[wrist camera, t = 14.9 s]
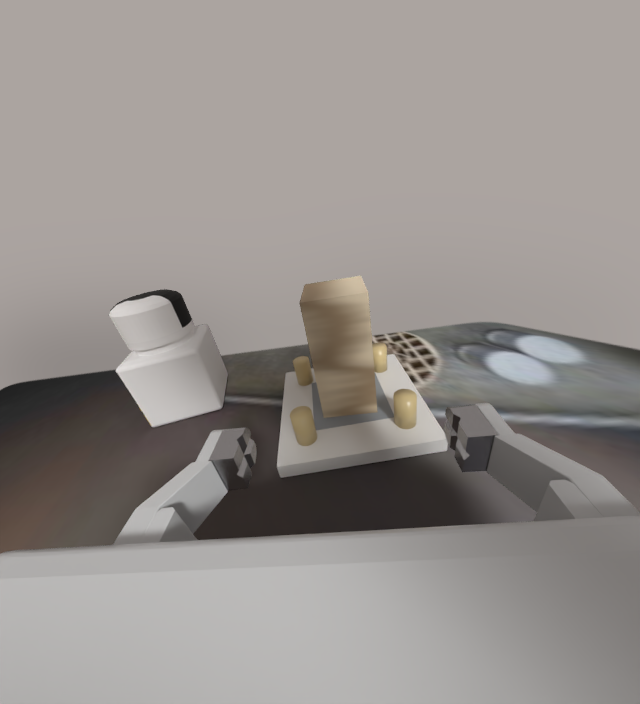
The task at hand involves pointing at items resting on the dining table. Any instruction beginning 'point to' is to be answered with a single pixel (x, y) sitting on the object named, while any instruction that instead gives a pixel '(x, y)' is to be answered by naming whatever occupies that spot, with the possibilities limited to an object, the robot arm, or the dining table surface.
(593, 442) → the dining table surface
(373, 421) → the white pegged board
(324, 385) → the maple block
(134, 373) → the medicine bottle
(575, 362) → the dining table surface
